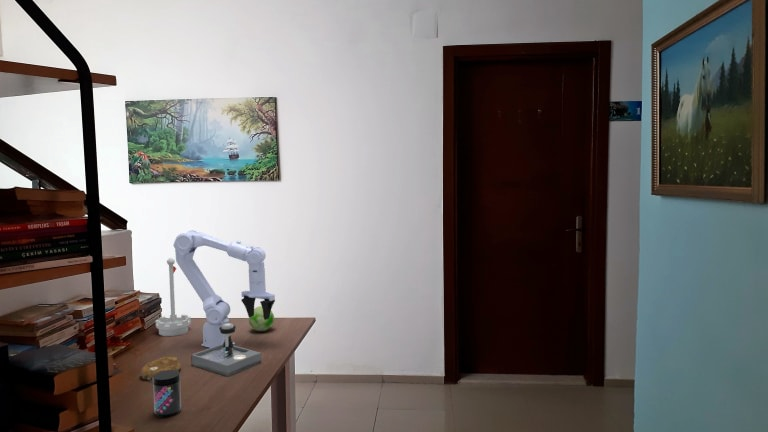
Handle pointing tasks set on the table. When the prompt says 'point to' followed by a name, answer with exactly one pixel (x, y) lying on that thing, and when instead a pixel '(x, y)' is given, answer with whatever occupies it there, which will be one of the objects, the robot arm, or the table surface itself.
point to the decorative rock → (159, 367)
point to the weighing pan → (220, 355)
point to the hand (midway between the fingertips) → (258, 317)
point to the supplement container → (167, 393)
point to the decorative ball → (260, 320)
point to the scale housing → (227, 361)
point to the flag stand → (173, 312)
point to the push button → (227, 337)
